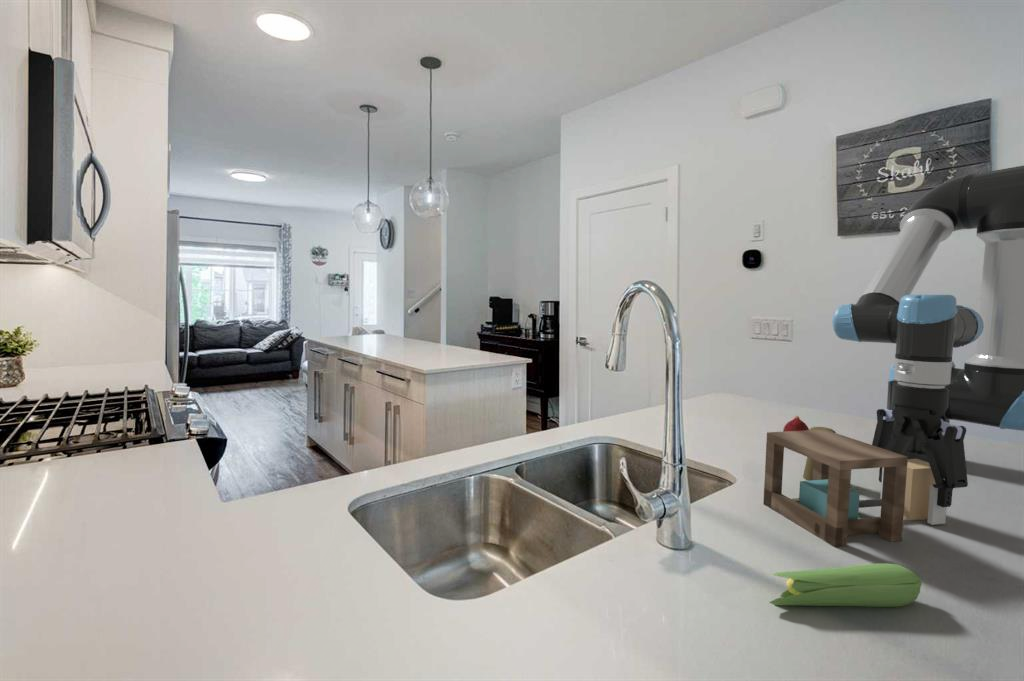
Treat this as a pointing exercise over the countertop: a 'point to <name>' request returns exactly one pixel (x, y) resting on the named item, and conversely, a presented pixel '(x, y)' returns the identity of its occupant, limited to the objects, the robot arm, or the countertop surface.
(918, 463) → the square-ended dumbbell
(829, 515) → the walnut bench
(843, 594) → the edible corn
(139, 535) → the countertop surface
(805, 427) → the onion
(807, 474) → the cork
